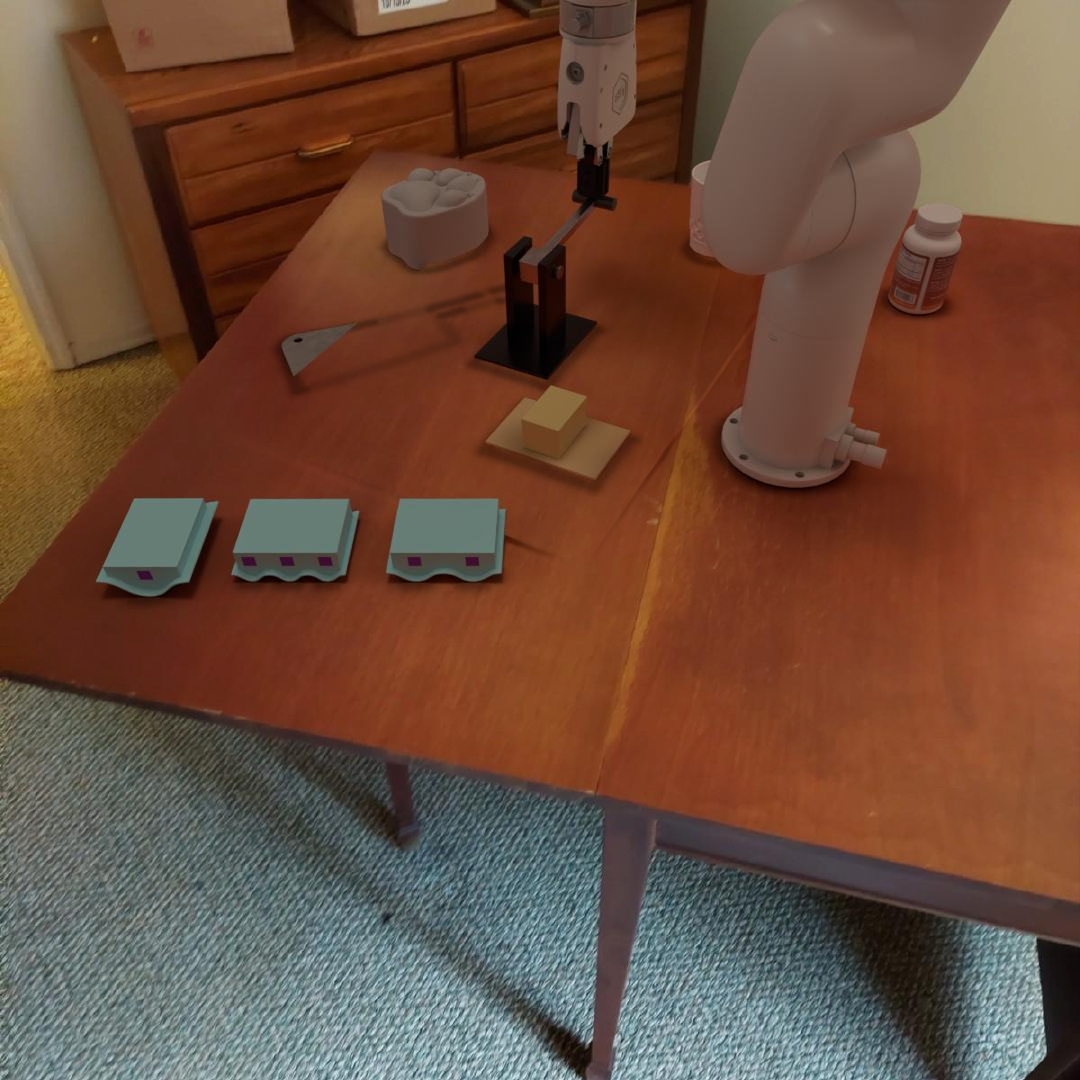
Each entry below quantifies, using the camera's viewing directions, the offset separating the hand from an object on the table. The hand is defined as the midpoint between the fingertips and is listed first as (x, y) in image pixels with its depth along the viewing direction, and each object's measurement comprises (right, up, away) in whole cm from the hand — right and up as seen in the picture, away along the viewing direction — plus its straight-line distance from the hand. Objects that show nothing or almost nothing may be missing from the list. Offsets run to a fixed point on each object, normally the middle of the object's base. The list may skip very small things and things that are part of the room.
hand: (592, 193), depth 107 cm
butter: (-4, -29, -13) cm, 32 cm away
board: (-4, -29, -12) cm, 32 cm away
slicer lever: (-3, -6, -3) cm, 8 cm away
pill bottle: (+38, -11, +5) cm, 40 cm away
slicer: (-6, -17, 0) cm, 18 cm away
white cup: (+16, -2, +14) cm, 22 cm away
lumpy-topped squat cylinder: (-18, -1, +17) cm, 25 cm away
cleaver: (-20, -15, +2) cm, 26 cm away
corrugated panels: (-26, -40, -22) cm, 53 cm away
